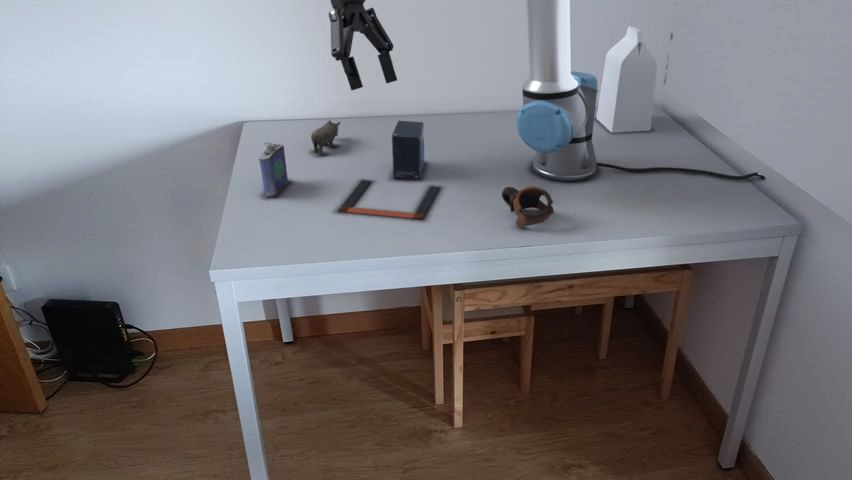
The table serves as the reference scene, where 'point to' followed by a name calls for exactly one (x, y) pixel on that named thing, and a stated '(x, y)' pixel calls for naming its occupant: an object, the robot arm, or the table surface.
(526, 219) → the pottery mug
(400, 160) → the small box
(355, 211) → the bay
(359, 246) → the table surface
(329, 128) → the rhino figurine
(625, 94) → the milk
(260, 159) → the flask
